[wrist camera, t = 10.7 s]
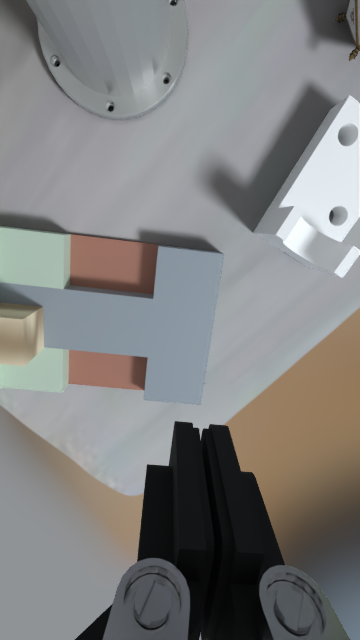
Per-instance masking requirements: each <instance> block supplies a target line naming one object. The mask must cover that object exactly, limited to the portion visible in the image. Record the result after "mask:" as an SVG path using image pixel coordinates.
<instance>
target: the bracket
mask: <svg viewBox="0 0 360 640" xmlns="http://www.w3.org/2000/svg"><path fill="white" fill-rule="evenodd" d="M331 210H332V211H333V214H334V217H333V220H332V222H331V223H330V221H329V214H330V212H331ZM359 217H360V103H359V102H358V101H357V100H355V99H354V98H353V97H351V96H348V97H347V98H345V99H344V100H343V101H341V102H340V103H338V104H337V105H336V106H334V107H333V108H331V109H330V111H329V112H328V114H327V115H326V117H325V119H324V120H323V122H322V123H321V125H320V127H319V128H318V130H317V131H316V133H315V135H314V136H313V138H312V139H311V141H310V143H309V144H308V146H307V147H306V149H305V150H304V152H303V154H302V155H301V157H300V158H299V160H298V162H297V163H296V165H295V166H294V168H293V170H292V171H291V173H290V174H289V176H288V177H287V179H286V181H285V182H284V184H283V185H282V187H281V189H280V190H279V192H278V193H277V195H276V197H275V198H274V200H273V201H272V203H271V205H270V206H269V208H268V209H267V211H266V212H265V214H264V216H263V217H262V219H261V220H260V222H259V224H258V225H257V227H256V228H255V230H254V232H253V233H254V234H256V235H257V236H259V237H260V238H262V239H263V240H265V241H267V242H268V243H270V244H271V245H273V246H274V247H276V248H277V249H279V250H281V251H283V252H285V253H287V254H288V255H290V256H291V257H293V258H294V259H296V260H297V261H299V262H301V263H302V264H304V265H305V266H307V267H308V268H311V269H314V270H317V271H321V272H324V273H327V274H330V275H334V276H337V277H340V278H343V277H344V275H345V274H346V273H347V271H348V270H349V268H350V267H351V266H352V264H353V263H354V262H355V260H356V259H357V258H358V256H359V255H360V250H359V249H358V248H356V247H355V246H352V245H348V244H344V243H341V242H342V241H343V239H344V238H345V236H346V235H347V233H348V232H349V231H350V229H351V228H352V226H353V225H354V224H355V222H356V221H357V219H358V218H359Z"/></svg>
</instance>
